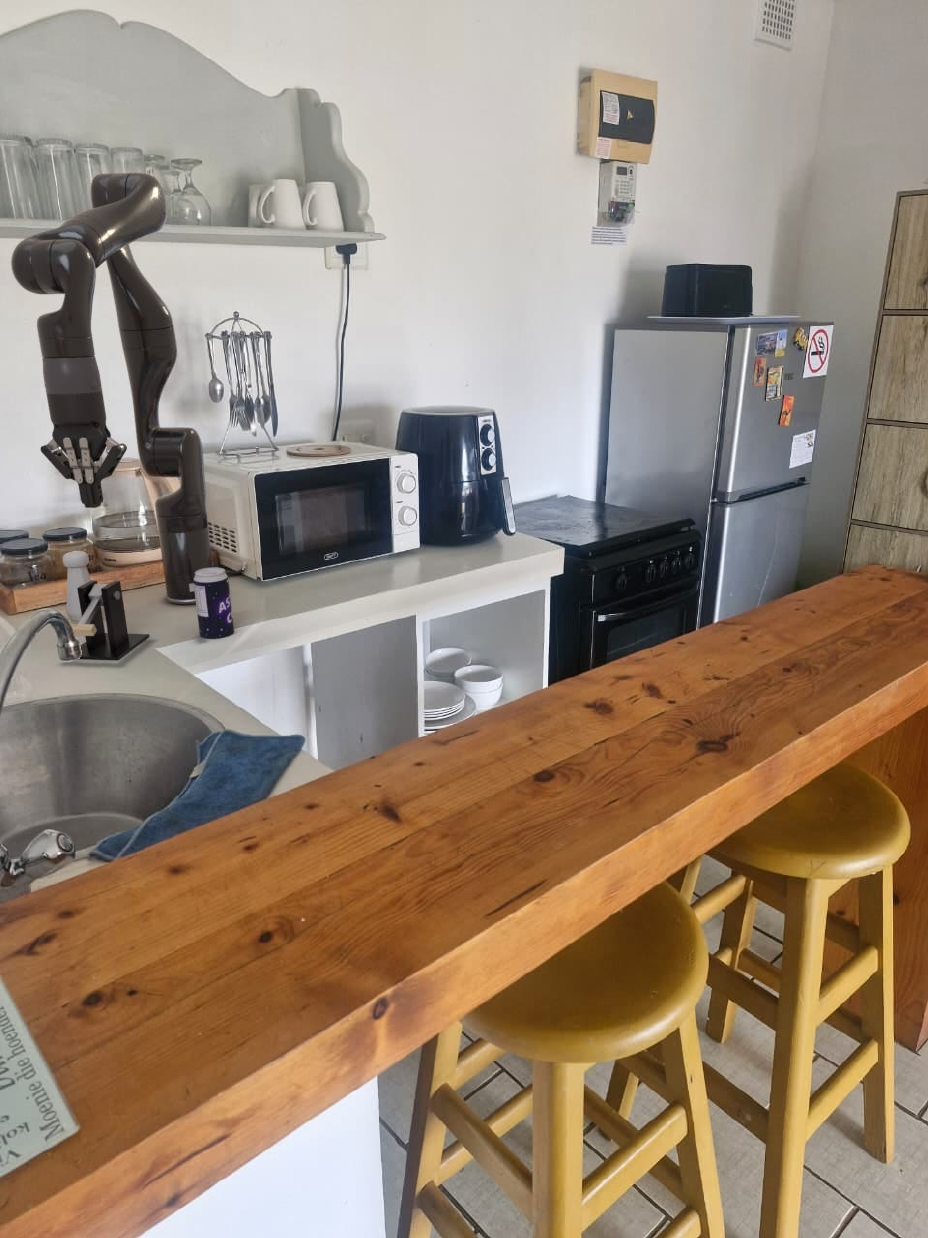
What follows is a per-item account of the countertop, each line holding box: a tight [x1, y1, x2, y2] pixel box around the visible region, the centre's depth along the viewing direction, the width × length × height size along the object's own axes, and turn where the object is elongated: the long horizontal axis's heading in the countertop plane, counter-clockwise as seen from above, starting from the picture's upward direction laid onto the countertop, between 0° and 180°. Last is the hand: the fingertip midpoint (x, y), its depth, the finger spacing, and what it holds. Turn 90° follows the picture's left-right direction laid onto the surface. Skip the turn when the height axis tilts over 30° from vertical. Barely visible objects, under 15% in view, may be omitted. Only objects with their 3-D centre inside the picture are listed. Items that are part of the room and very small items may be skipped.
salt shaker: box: [62, 550, 92, 622], centre depth 157 cm, size 6×6×13 cm
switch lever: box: [70, 583, 109, 637], centre depth 138 cm, size 10×4×2 cm, turn 174°
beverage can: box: [193, 567, 235, 640], centre depth 148 cm, size 6×6×12 cm
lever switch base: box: [77, 579, 150, 661], centre depth 142 cm, size 11×9×12 cm
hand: (93, 506), depth 132 cm, fingers closed
